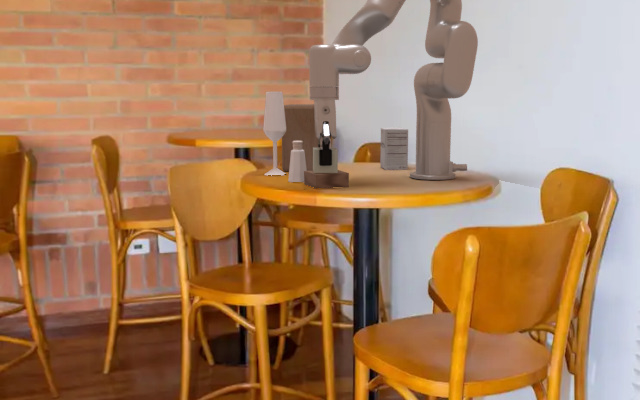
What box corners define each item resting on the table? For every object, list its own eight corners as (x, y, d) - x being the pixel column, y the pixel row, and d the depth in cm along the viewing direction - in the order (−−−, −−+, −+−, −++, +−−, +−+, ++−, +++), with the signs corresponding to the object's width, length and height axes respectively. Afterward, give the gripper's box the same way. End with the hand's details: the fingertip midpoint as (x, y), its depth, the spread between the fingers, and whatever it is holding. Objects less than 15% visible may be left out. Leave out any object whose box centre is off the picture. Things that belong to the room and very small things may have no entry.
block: (313, 172, 214) (313, 105, 210) (281, 171, 216) (280, 105, 212) (320, 168, 223) (320, 104, 220) (289, 167, 225) (288, 104, 222)
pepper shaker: (310, 182, 192) (310, 141, 190) (290, 183, 190) (290, 141, 189) (304, 179, 197) (304, 139, 195) (285, 180, 196) (285, 140, 194)
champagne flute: (261, 173, 211) (260, 91, 207) (283, 172, 213) (282, 91, 209) (266, 176, 205) (265, 91, 201) (289, 175, 207) (288, 91, 203)
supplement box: (379, 167, 226) (380, 127, 224) (402, 167, 226) (403, 127, 224) (384, 170, 218) (384, 128, 216) (408, 169, 219) (408, 128, 217)
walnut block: (335, 184, 191) (335, 169, 190) (348, 188, 183) (348, 173, 182) (304, 186, 188) (304, 170, 187) (316, 190, 180) (315, 174, 179)
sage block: (335, 170, 188) (335, 147, 187) (337, 173, 182) (337, 149, 181) (312, 170, 187) (313, 147, 187) (314, 173, 182) (314, 149, 181)
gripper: (342, 94, 173) (342, 167, 176) (335, 93, 190) (335, 160, 193) (311, 94, 173) (312, 168, 176) (307, 93, 190) (308, 160, 193)
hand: (324, 163), depth 184 cm, fingers open, 6 cm apart
